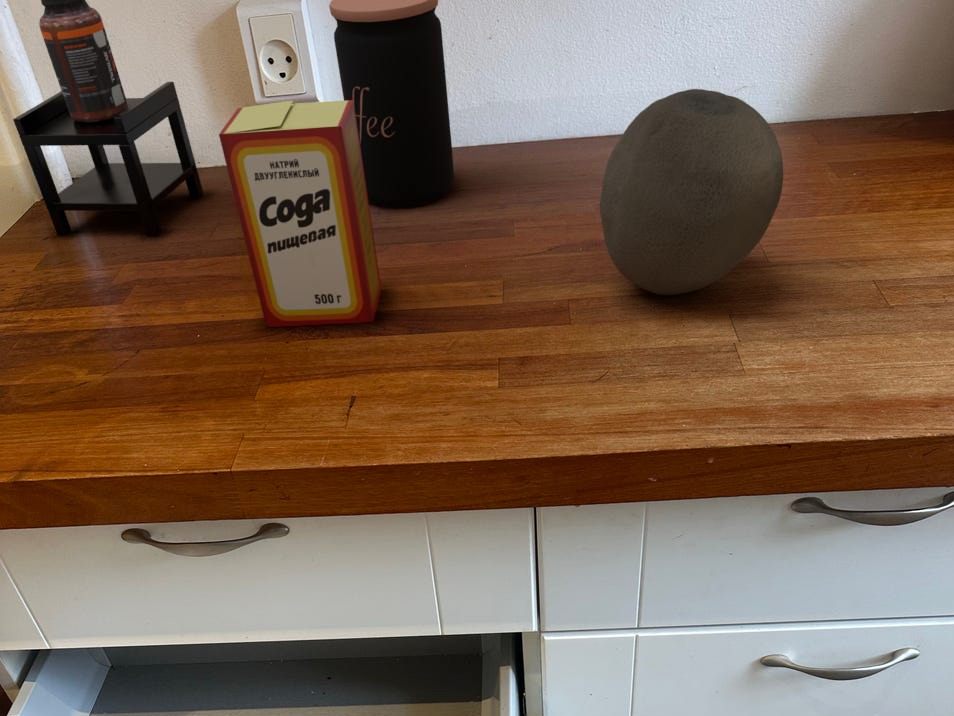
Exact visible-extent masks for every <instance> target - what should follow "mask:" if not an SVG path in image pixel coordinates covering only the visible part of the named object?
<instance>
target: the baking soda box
mask: <svg viewBox="0 0 954 716" xmlns="http://www.w3.org/2000/svg"><path fill="white" fill-rule="evenodd" d="M293 102H294V100H293V99H292V100H286V101H280V102H279V101H278V102H272V103H266V104H257V105H252V106H244V107H243V106H242V107H238V108H237V109H236V110H235V111H234V113H233V114H232V115H231V117H230V118H229V120H228V121H227V123H225V125H224V126H223V128H222V129H221V130H220V132H219V133H218V138H219V140H220V145H221V148H222V149H221V150H222V152H223V153H222V154H223V157H224V161H225V166H226V169H227V173H228V178H229V181H230V186H231V189H232V194H233V198H234V202H235V207H236V210H237V214H238V217H239V223H240V227H241V230H242V233H243V234H242V235H243V238H244V243H245V247H246V250H247V256H248V258H249V259H248V260H249V263H250V267H251V271H252V274H253V279H254V283H255V288H256V291H257V296H258V299H259V303H260V308H261V311H262V315H263V319H264V323H265V328H278V327H279V328H281V327H299V326H300V327H301V326H319V325H321V326H322V325H323V326H324V325H339V324H340V325H341V324H361V323H362V324H363V323H373V322H374V320H375V316H376V312H377V309H378V305H379V301H380V296H381V293H382V289H383V288H382V282H381V277H380V276H381V275H380V269H379V263H378V256H377V249H376V242H375V237H374V236H375V235H374V228H373V222H372V216H371V209H370V202H369V201H368V195H367V189H366V182H365V176H364V169H363V162H362V156H361V149H360V142H359V136H358V129H357V123H356V116H355V109H354V103H353V100H347V101H344V100H335V101H334V100H333V101H332V100H331V101H316V102H298V103H293Z"/></svg>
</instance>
